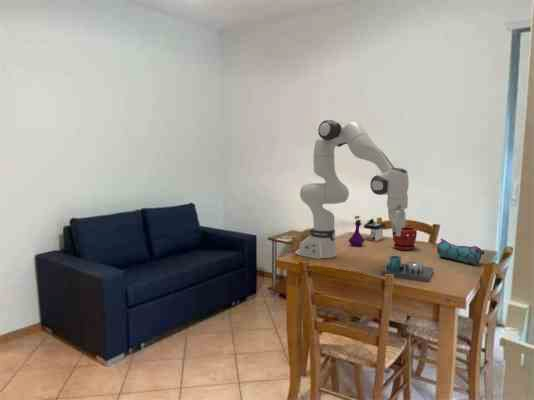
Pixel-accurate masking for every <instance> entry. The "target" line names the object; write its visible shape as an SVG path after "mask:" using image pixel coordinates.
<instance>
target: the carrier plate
mask: <svg viewBox="0 0 534 400" xmlns="http://www.w3.org/2000/svg"><path fill="white" fill-rule="evenodd" d="M403 264H404V269H402V270H400V269H399V270H395V269H394V270H392V269H388V268H387V267H386V265H385V266H384V267H383V268H382V269H381V271H380V275H381V276H385V274H393V275H394V276H395V277H394V278H399V279H406V280H413V281H419V282H425V283H428V282H429V281H430V279H431V278H432V276H433V274H434V267H430V266H429V267H428V266H425V264H424V263H423V262H422V263H421V262H419V261H406V262H405V263H403Z"/></svg>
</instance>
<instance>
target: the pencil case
mask: <svg viewBox="0 0 534 400" xmlns="http://www.w3.org/2000/svg"><path fill="white" fill-rule="evenodd" d="M439 241H440V242H438V244H437V247H436V252H437V254H438V256H439V257H441V258H445V259H448V260H449V259H450V260H453V261H457V262H462V263H465V264H468V265H474V266H478V264H479V263H480V262H481V259H482V255H485V251H484V250H482V249H481V247H479V246H478V245H477V246H476V245H471V246H469V245H456V244H454V243H453V244H452V243H451V242H448V241H447V240H446V239H444V238H440V239H439Z"/></svg>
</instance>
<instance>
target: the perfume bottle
mask: <svg viewBox="0 0 534 400" xmlns="http://www.w3.org/2000/svg"><path fill="white" fill-rule="evenodd" d="M354 219H355V223H354V226H355V231H354V233H353V234H352V236H350V238H349V239H348V243H350V245H351V246H352V247H361V246H363V244H364V242H365V238H364V237H363V236H362V235H361V233H360V227H361V225H362V223H361V222H362V220H361V219H360V215H354Z"/></svg>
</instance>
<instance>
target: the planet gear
mask: <svg viewBox="0 0 534 400" xmlns="http://www.w3.org/2000/svg"><path fill="white" fill-rule="evenodd" d="M404 264H405V263H402V256H400V255H390V256H389V262H387V263H386V265H385V266H386V267H387V268H388V269H392V270H394V269H395V270H399V269H400V270H402V269H404Z"/></svg>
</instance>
